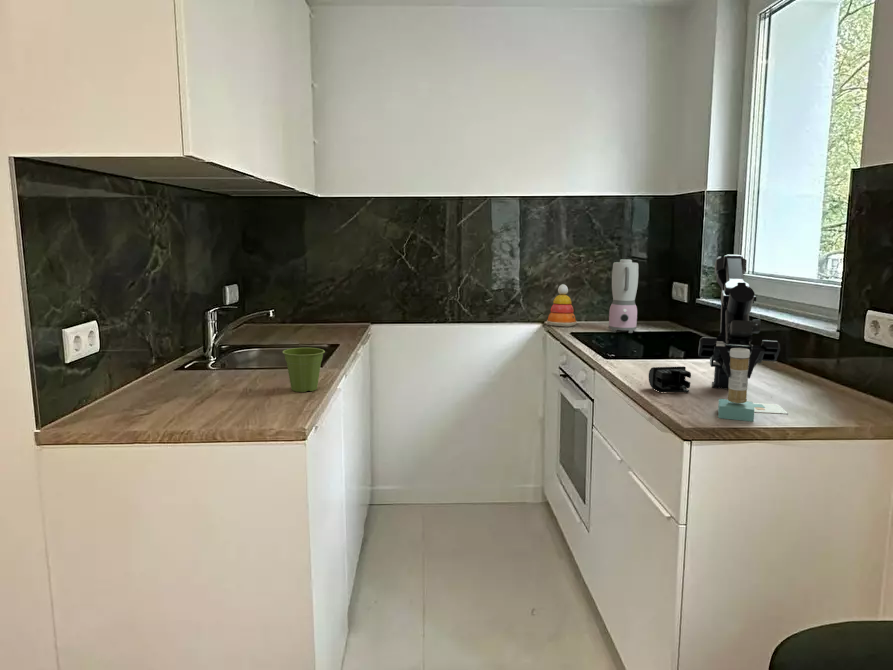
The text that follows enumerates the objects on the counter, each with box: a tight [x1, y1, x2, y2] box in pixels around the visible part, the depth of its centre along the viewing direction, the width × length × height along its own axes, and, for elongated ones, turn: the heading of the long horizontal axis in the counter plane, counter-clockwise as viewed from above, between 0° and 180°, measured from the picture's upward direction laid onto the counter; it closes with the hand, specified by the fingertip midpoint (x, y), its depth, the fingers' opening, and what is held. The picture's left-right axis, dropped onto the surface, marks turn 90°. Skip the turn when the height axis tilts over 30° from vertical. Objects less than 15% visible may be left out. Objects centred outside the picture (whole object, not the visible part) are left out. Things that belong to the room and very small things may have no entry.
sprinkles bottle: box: [727, 348, 750, 403], centre depth 170 cm, size 5×5×14 cm
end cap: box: [648, 366, 692, 393], centre depth 197 cm, size 10×7×7 cm
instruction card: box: [753, 402, 789, 415], centre depth 178 cm, size 9×12×1 cm
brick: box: [717, 398, 755, 422], centre depth 171 cm, size 8×8×3 cm
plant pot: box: [282, 347, 326, 393], centre depth 193 cm, size 12×12×11 cm
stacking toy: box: [546, 283, 578, 328], centre depth 319 cm, size 14×14×20 cm
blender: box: [608, 258, 639, 334], centre depth 302 cm, size 16×12×32 cm
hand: (739, 377), depth 169 cm, fingers closed on sprinkles bottle, 4 cm apart
